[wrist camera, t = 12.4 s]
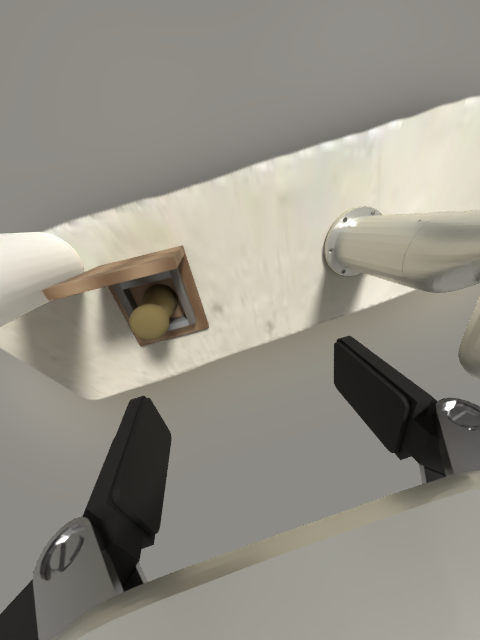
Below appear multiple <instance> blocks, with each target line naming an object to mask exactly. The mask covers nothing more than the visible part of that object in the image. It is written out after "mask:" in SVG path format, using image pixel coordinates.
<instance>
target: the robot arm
mask: <svg viewBox="0 0 480 640" xmlns="http://www.w3.org/2000/svg"><path fill="white" fill-rule="evenodd" d="M324 253H325V259H326V262H327V264H328V266H329V267H330V269H331V270H333V271H334V272H335V273H337V274H340V275H342V276H354V275H358V274H360V273H364V274H368V275H371V276H374V277H378V278H381V279H384V280H388V281H391V282H394V283H398V284H401V285H404V286H408V287H411V288H414V289H418V290H421V291H426V292H432V293H446V292H452V291H456V290H460V289H463V288H467V287H470V286H473V285H476V284H479V283H480V210H471V211H452V212H434V213H414V214H394V215H382V214H381V212H379V211H378V210H377V209H375V208H372V207H367V206H363V207H356V208H353V209H351V210H349V211H347V212H345V213H344V214H342V215H341V216H340V217H339V218H338V219H337V220H336V221H335V223H334V224H333V225H332V227H331V229H330V231H329V233H328V235H327V238H326V242H325V251H324ZM458 357H459V361H460V363H461V365H462V367H463V368H464V369H465V371H466V372H468V373H469V374H470V375H471V376H472V377H474V378H475V379H477V380H478V381H480V295H479V298H478V302H477V305H476V307H475V309H474V312H473V314H472V317H471V319H470V321H469V324H468V326H467V328H466V331H465V333H464V336H463V338H462V341H461V344H460V347H459V353H458ZM334 384H335V386H336V388H337V389H338V391H339V392H340V393H341V394H342V395H343V397H344V398H345V399H346V400H347V401H348V403H349V404H350V405H351V406H352V407H353V409H354V410H355V411H356V412H357V413H358V415H359V416H360V417H361V418H362V419H363V421H364V422H365V423H366V424H367V425H368V427H369V428H370V429H371V430H372V431H373V433H374V434H375V435H376V436H377V437H378V439H379V440H380V441H381V442H382V443H383V445H384V446H385V447H386V448H387V449H388V450H389V451H390V452H391V453H395V454H396V455H397V456H398V458H399V459H400V460H402V459H405V458H408V457H411V456H412V457H413V458H414V459H415V460H416V461H417V462H418V463H419V467H420V473H421V479H422V485H419V486H416V487H413V488H410V489H407V490H404V491H400V492H398V493H395V494H392V495H389V496H386V497H383V498H380V499H378V500H375V501H372V502H369V503H366V504H363V505H360V506H357V507H355V508H352V509H349V510H346V511H343V512H340V513H337V514H335V515H332V516H329V517H326V518H323V519H320V520H317V521H315V522H312V523H309V524H306V525H303V526H301V527H298V528H295V529H292V530H289V531H286V532H284V533H281V534H278V535H275V536H273V537H270V538H267V539H264V540H261V541H259V542H256V543H253V544H250V545H247V546H244V547H242V548H239V549H236V550H233V551H231V552H228V553H225V554H222V555H219V556H217V557H214V558H211V559H209V560H206V561H203V562H200V563H197V564H195V565H192V566H189V567H186V568H183V569H181V570H178V571H176V572H173V573H170V574H168V575H165V576H163V577H160V578H157V579H155V580H152V581H150V582H148V581H147V579H146V577H145V575H144V572H143V570H142V568H141V566H140V564H139V559H140V554H141V549H143V548H145V547H149V546H151V545H154V539H155V534H156V533H158V531H159V528H160V522H161V515H162V507H163V500H164V492H165V484H166V477H167V469H168V462H169V454H170V446H171V433H170V431H169V429H168V427H167V426H166V424H165V422H164V421H163V419H162V417H161V416H160V414H159V412H158V411H157V409H156V407H155V406H154V405H153V403H152V401H151V399H150V398H146V397H145V396H141V397H138V398H134V399H131V400H130V402H129V404H128V406H127V409H126V411H125V414H124V416H123V419H122V421H121V424H120V427H119V429H118V432H117V434H116V436H115V438H114V440H113V442H112V444H111V447H110V449H109V452H108V455H107V457H106V460H105V462H104V464H103V467H102V469H101V472H100V474H99V477H98V479H97V482H96V484H95V487H94V489H93V492H92V494H91V497H90V500H89V502H88V504H87V507H86V509H85V512H84V515H83V517H78V518H75V519H73V520H71V521H69V522H68V523H66V524H65V525H64V526H63V527H61V528H60V529H59V530H58V531H57V532H56V534H55V535H54V536H53V537H52V538H51V539H50V541H49V542H48V543H47V545H46V546H45V547H44V549H43V551H42V553H41V554H40V556H39V558H38V560H37V563H36V566H35V569H34V572H33V579H32V580H31V582H30V583H29V584H28V585H27V586H26V587H25V588H24V589H23V590H22V592H20V594H19V595H18V596H17V597H16V598H15V599H14V600H13V601H12V602H11V603H10V604H9V605H8V607H7V608H6V609H5V610H4V611H3V612H2V613H1V614H0V640H480V406H478V405H476V404H474V403H471V402H469V401H466V400H462V399H459V398H443V399H441V400H439V401H437V400H435V399H434V398H433V397H432V396H431V395H429V394H428V393H427V392H425V391H424V390H422V389H421V388H420V387H419V386H417V385H416V384H414V383H413V382H412V381H410V380H409V379H407V378H406V377H405V376H404V375H402V374H401V373H400V372H398V371H397V370H395V369H394V368H393V367H392V366H390V365H389V364H387V363H386V362H385V361H383V360H382V359H380V358H379V357H378V356H377V355H375V354H374V353H373V352H371V351H370V350H369V349H367V348H366V347H365V346H363V345H362V344H361V343H359V342H358V341H357V340H355V339H354V338H352V337H351V336H347V337H343V338H340V339H338V340H337V342H336V343H335V344H334Z"/></svg>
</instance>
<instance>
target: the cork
mask: <svg viewBox="0 0 480 640" xmlns="http://www.w3.org/2000/svg"><path fill="white" fill-rule="evenodd" d="M177 305H178V297H177V294H176V293H175V292H174V290H173V289H171V288H170V287H168V286H166V285H162V284H156V285H152V286H150V287H149V288H148V289H147V290H146V291H145V293H144V296H143V299H142V302H141V305H140V306H139V307H137V308H136V309H135V310H134V311H133V312H132V314H131V316H130V319H129V326H130V328H131V330H132V332H133V333H134V334H135V335H136V336H137V337H139V338H141V339H144V340H155V339H158V338H160V337H162V336H163V335H164V334H165V333H166V332H167V330H168V327H169V318H170V316H171V315H172V314H173V312H174V311H175V309H176V308H177Z"/></svg>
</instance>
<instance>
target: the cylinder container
mask: <svg viewBox="0 0 480 640" xmlns="http://www.w3.org/2000/svg"><path fill="white" fill-rule="evenodd" d="M82 273H84V268H83V264H82V261H81V259H80V257H79V255H78V254H77V253H76V251H75V250H74V249H73V248H72V247H71V246H70V245H69V244H68V243H66V242H65V241H63V240H62V239H60V238H58V237H56V236H54V235H51V234H48V233H42V232H30V233H9V234H0V327H1V326H3V325H5V324H7V323H9V322H11V321H13V320H15V319H16V318H18V317H20V316H22V315H24V314H26V313H28V312H30V311H32V310H34V309H36V308H38V307H40V306H42V305H44V304H46V303H48V302H50V301H52V300H50V301H49V300H48V299H47V298H46V296H45V295H44V293H43V292H42V291H41V290H44V289H46V288H48V287H51V286H53V285H56V284H58V283H60V282H63V281H65V280H68V279H70V278H72V277H75V276H77V275H80V274H82Z"/></svg>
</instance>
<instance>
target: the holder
mask: <svg viewBox="0 0 480 640" xmlns="http://www.w3.org/2000/svg"><path fill="white" fill-rule="evenodd" d="M156 284H162V285H166V286H168V287H170V288H171V289H173V290H174V292H175V293H176V294H177V297H178V305H177V308H176V309H175V311H174V312H173V314H172V315H171V316H170V318H169V327H168V330H167V332H166V333H165V334H164V335H163V336H162V337H160V338H158V339H155V340H144V339H141V338H139V337H137V336H136V335H135V334H134V335H135V337H136V339H137V341H138V343H139V345H140V346H144V345H147V344H151V343H154V342H158V341H162V340H165V339H169V338H173V337H176V336H180V335H183V334H187V333H191V332H194V331H198V330H202V329H205V328H209V325H208V321H207V318H206V315H205V312H204V309H203V306H202V303H201V300H200V297H199V294H198V291H197V288H196V285H195V282H194V279H193V276H192V272H191V269H190V266H189V263H188V260H187V257H186V254H185V251H184V248H183V246H179V247H175V248H171V249H167V250H163V251H159V252H155V253H150V254H146V255H142V256H138V257H134V258H130V259H126V260H122V261H118V262H114V263H110V264H106V265H102V266H99V267H96V268H94V269H92V270H89V271H87V272H84V273H82V274H80V275H77V276H75V277H72V278H70V279H68V280H65V281H63V282H60V283H58V284H56V285H53V286H51V287H48V288H46V289H44V290H41V291H42V292H43V293H44V295H45V296H46V298H47V299H48V300H49V301H50V300H54V299H58V298H62V297H66V296H70V295H74V294H78V293H82V292H86V291H90V290H94V289H98V288H102V287H106V286H108V287H109V289H110V291H111V293H112V294H113V296H114V298H115V300H116V302H117V304H118V306H119V307H120V309H121V311H122V313H123V315H124V317H125V319H126V320H127V322H128V324H129V319H130V316H131V314H132V312H133V311H134V310H135V309H136V308H137V307H139V306H140V305H141V302H142V299H143V296H144V293H145V291H146V290H147V289H148V288H149V287H150V286H152V285H156Z"/></svg>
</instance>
